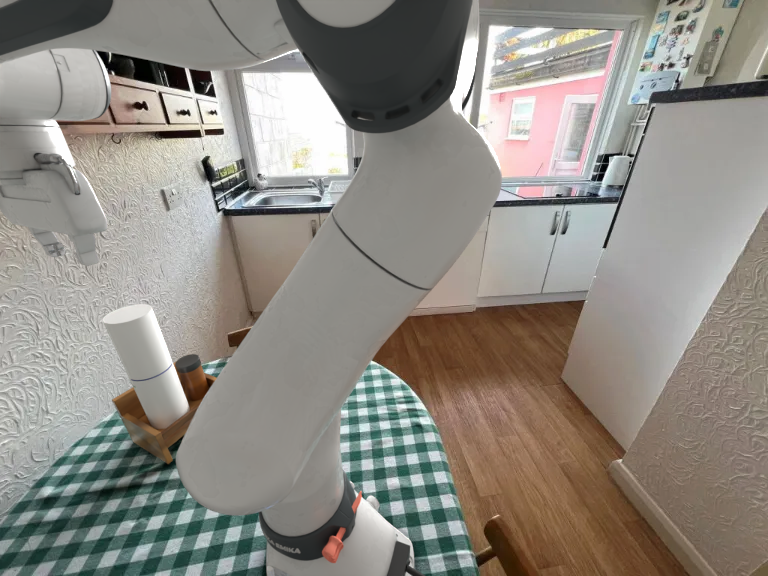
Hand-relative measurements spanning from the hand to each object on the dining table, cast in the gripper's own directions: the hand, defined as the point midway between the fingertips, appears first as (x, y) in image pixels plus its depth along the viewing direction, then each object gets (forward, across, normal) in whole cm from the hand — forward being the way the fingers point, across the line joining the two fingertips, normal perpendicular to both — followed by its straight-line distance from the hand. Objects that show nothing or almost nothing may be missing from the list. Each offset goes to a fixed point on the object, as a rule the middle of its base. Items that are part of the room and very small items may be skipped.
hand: (73, 259), depth 44 cm
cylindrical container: (+38, +5, -5) cm, 38 cm away
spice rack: (+43, +5, -7) cm, 44 cm away
